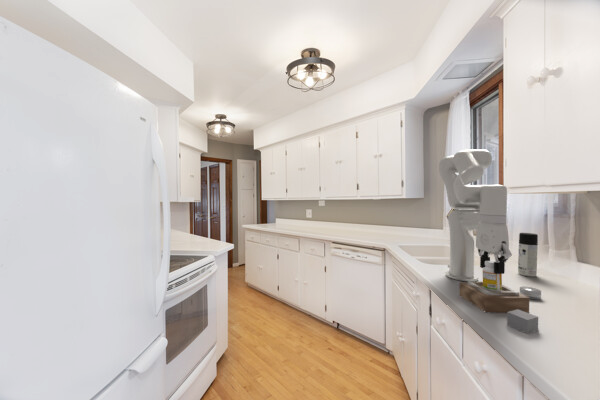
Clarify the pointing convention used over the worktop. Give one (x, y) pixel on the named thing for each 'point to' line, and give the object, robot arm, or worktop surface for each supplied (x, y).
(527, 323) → the grey rubber block
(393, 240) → the worktop surface
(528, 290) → the metal tin
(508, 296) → the walnut stand
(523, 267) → the spray can
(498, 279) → the supplement bottle
